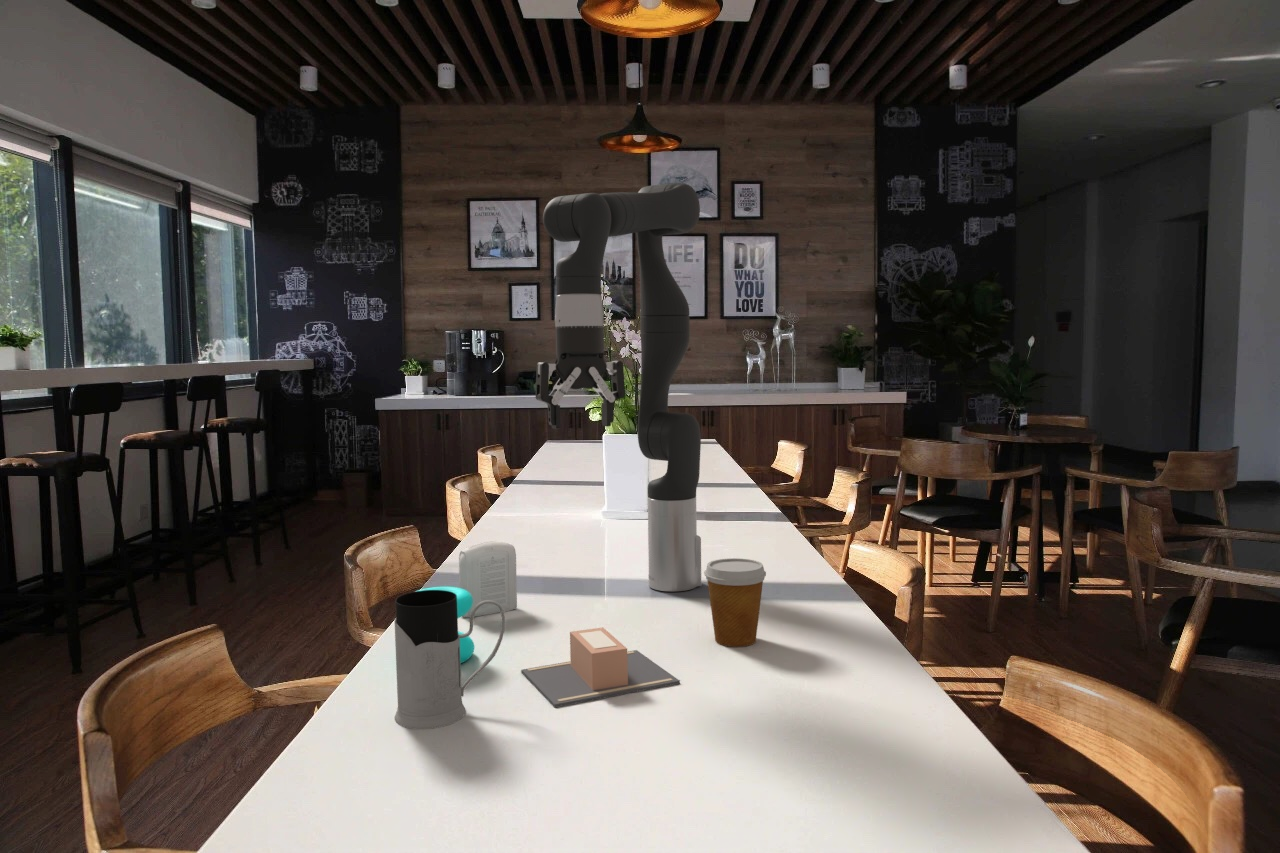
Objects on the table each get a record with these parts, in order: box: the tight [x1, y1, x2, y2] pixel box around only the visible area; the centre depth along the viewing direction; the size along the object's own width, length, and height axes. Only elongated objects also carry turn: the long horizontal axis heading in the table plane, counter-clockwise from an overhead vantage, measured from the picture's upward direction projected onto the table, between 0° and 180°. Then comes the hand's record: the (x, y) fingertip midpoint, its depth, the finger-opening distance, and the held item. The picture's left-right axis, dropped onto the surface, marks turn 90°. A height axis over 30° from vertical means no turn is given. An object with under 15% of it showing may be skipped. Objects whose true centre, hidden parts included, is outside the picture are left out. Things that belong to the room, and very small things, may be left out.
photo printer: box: [458, 540, 518, 619], centre depth 158 cm, size 10×4×12 cm, turn 123°
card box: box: [569, 627, 628, 690], centre depth 126 cm, size 10×5×5 cm, turn 21°
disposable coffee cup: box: [703, 557, 767, 648], centre depth 140 cm, size 10×10×12 cm
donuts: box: [414, 586, 475, 664], centre depth 134 cm, size 10×10×10 cm
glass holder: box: [394, 590, 506, 730], centre depth 115 cm, size 9×14×15 cm, turn 112°
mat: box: [520, 649, 681, 708], centre depth 126 cm, size 18×14×1 cm
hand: (581, 427), depth 144 cm, fingers open, 8 cm apart
